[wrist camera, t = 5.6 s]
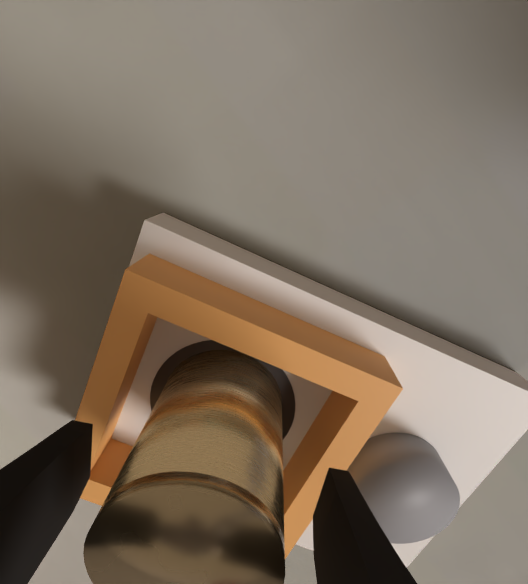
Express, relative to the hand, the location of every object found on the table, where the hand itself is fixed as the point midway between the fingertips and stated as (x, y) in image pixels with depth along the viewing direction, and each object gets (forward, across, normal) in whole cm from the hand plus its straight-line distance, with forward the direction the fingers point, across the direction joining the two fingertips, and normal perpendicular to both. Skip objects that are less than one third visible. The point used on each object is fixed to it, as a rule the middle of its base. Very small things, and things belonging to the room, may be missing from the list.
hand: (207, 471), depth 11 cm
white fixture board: (+5, -3, +1) cm, 6 cm away
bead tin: (+3, 0, 0) cm, 3 cm away
